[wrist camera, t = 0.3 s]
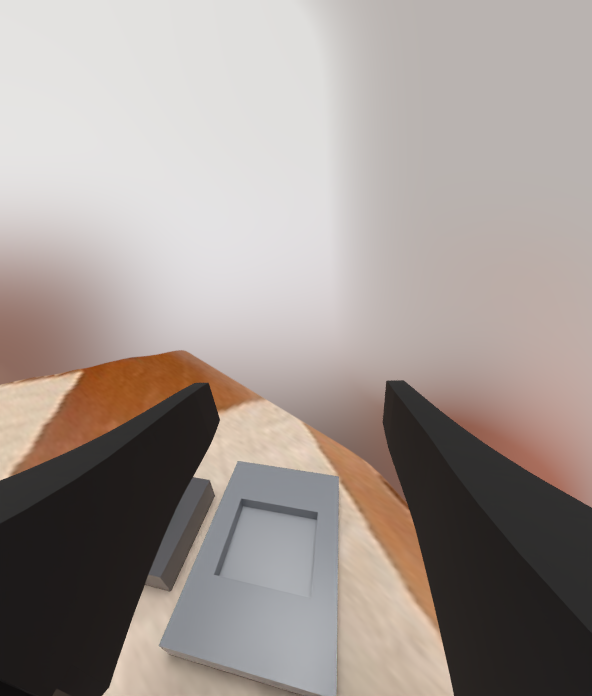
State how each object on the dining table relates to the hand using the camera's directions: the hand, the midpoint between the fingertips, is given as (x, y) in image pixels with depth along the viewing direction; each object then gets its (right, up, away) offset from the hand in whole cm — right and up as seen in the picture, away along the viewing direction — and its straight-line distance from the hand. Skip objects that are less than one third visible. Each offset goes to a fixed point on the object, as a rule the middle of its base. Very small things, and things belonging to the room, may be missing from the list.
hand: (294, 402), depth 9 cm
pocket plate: (-2, -17, +13) cm, 22 cm away
